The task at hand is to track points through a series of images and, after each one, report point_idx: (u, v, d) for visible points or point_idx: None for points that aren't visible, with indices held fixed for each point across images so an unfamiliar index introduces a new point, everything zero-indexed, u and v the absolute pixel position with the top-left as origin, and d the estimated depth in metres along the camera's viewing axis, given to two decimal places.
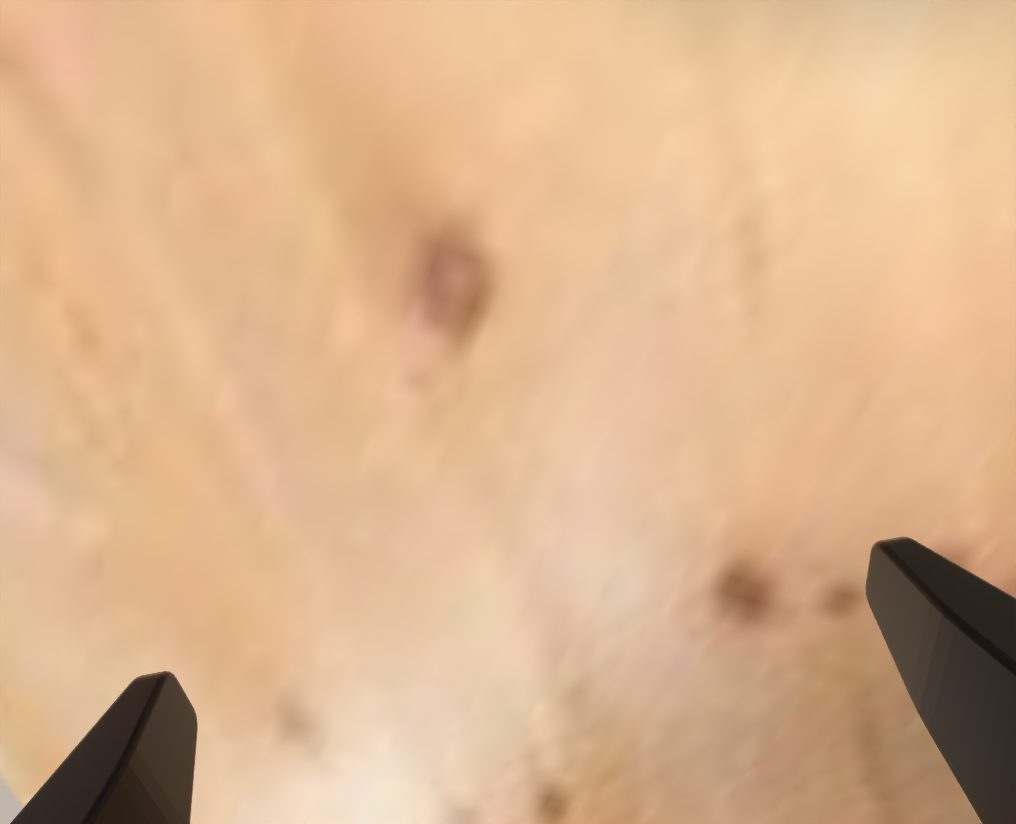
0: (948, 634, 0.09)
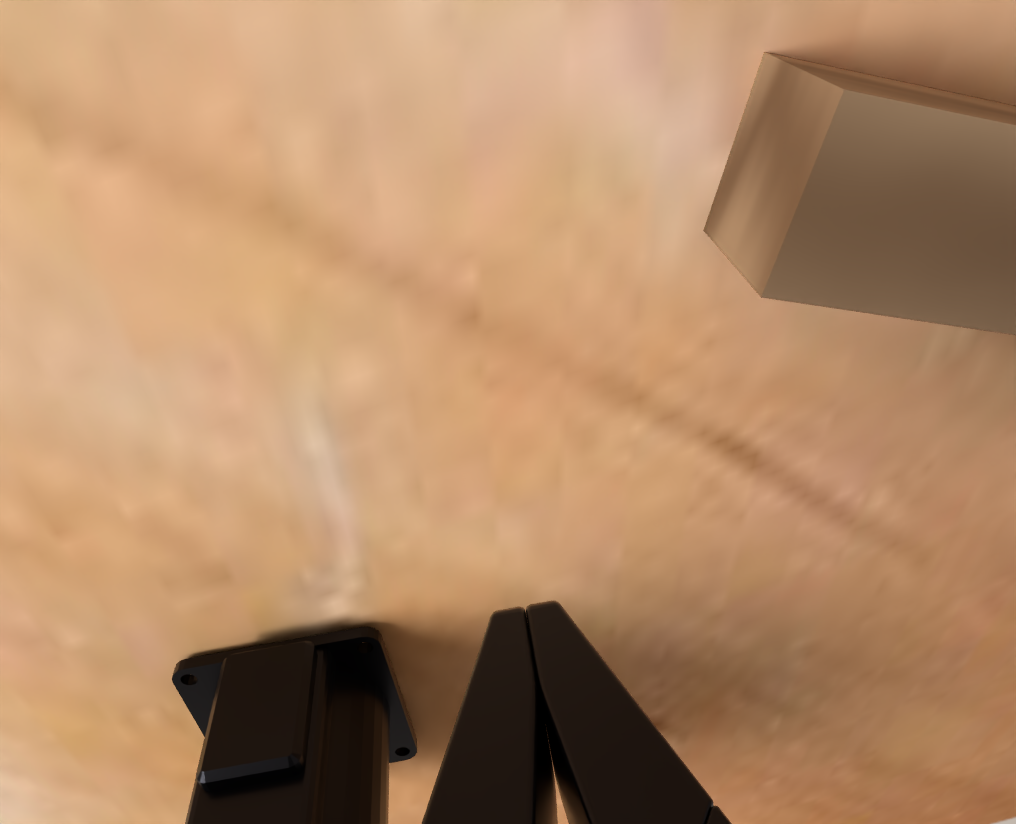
0: (544, 709, 0.09)
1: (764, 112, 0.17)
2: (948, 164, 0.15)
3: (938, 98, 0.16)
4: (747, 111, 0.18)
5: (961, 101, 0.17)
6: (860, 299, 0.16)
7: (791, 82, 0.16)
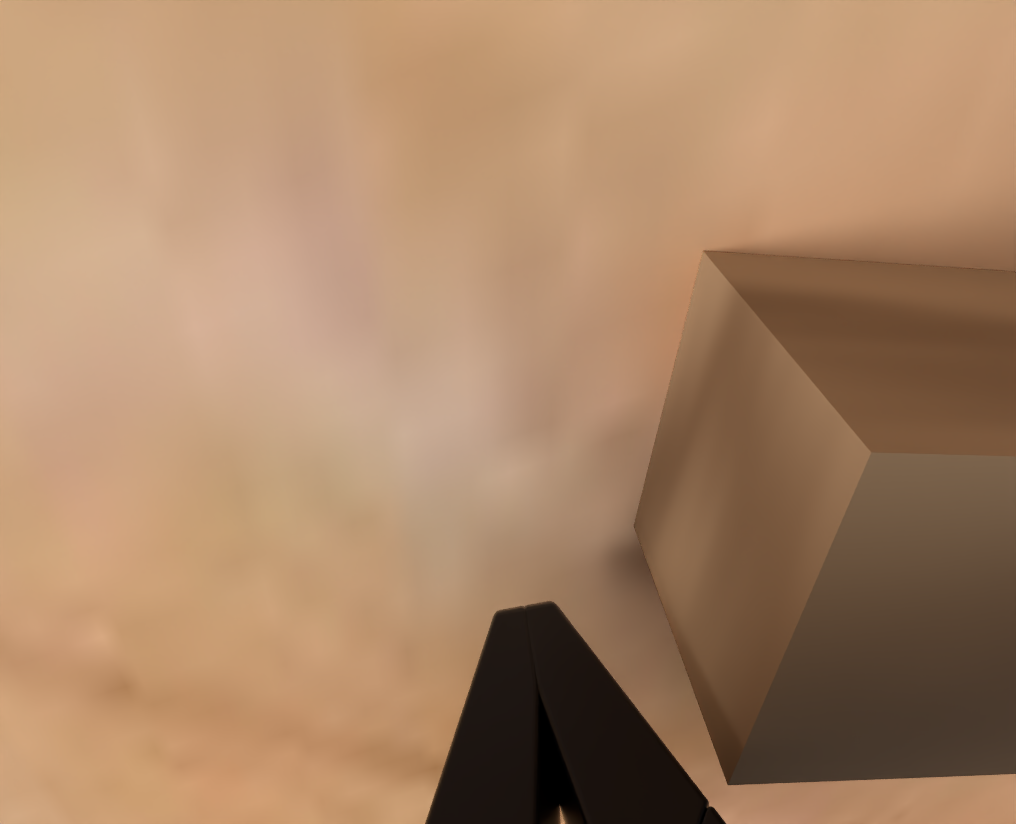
0: (540, 709, 0.09)
1: (711, 380, 0.09)
2: None
3: None
4: (686, 356, 0.09)
5: None
6: (934, 761, 0.08)
7: (756, 351, 0.08)
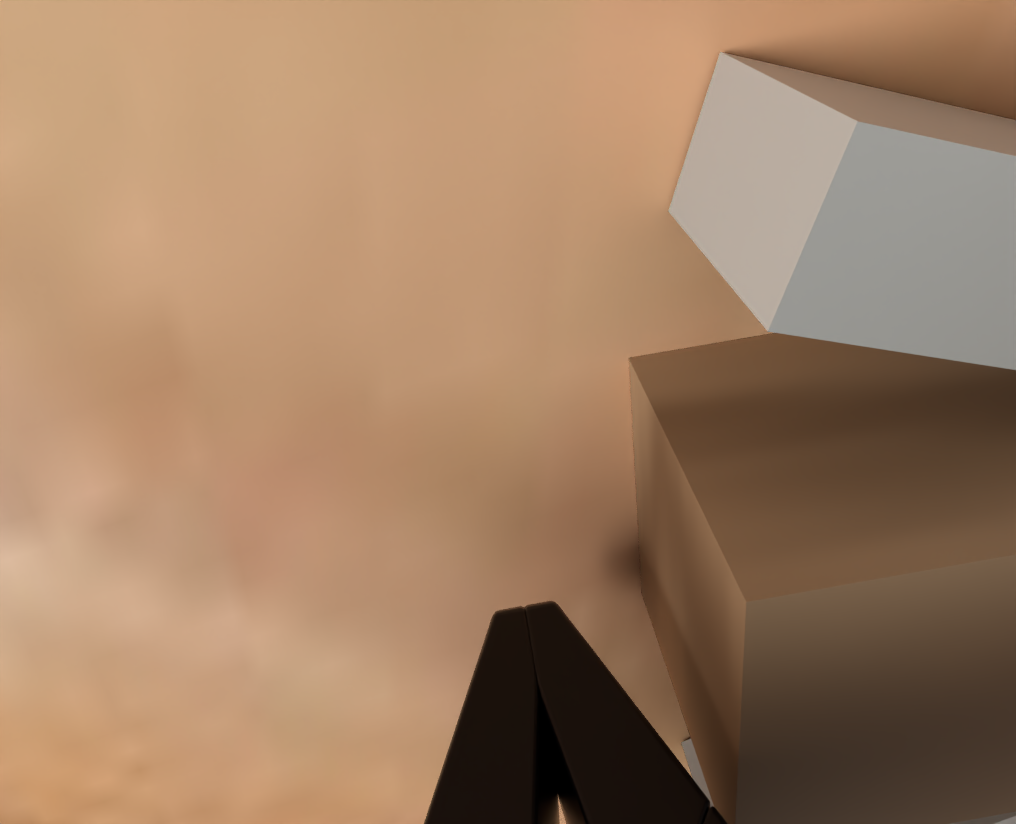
0: (541, 709, 0.09)
1: (657, 485, 0.09)
2: None
3: (985, 407, 0.08)
4: (640, 454, 0.10)
5: None
6: (931, 814, 0.08)
7: (674, 473, 0.08)
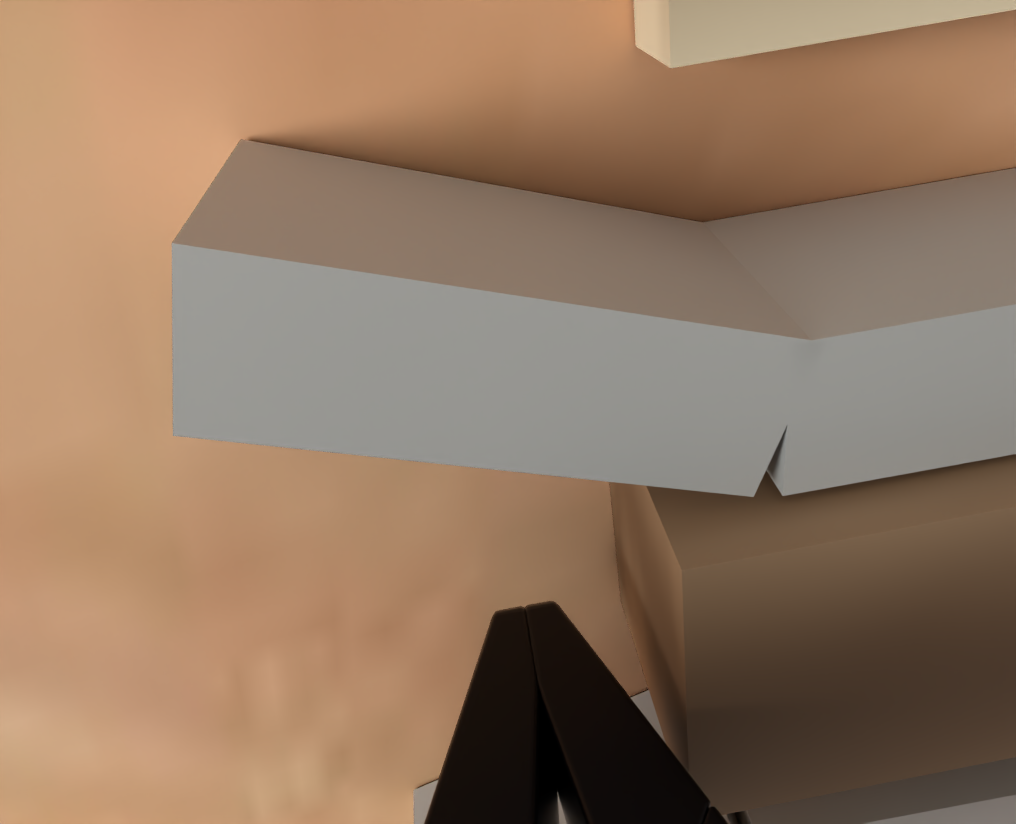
0: (542, 709, 0.09)
1: None
2: (957, 585, 0.07)
3: None
4: None
5: None
6: (873, 772, 0.09)
7: None
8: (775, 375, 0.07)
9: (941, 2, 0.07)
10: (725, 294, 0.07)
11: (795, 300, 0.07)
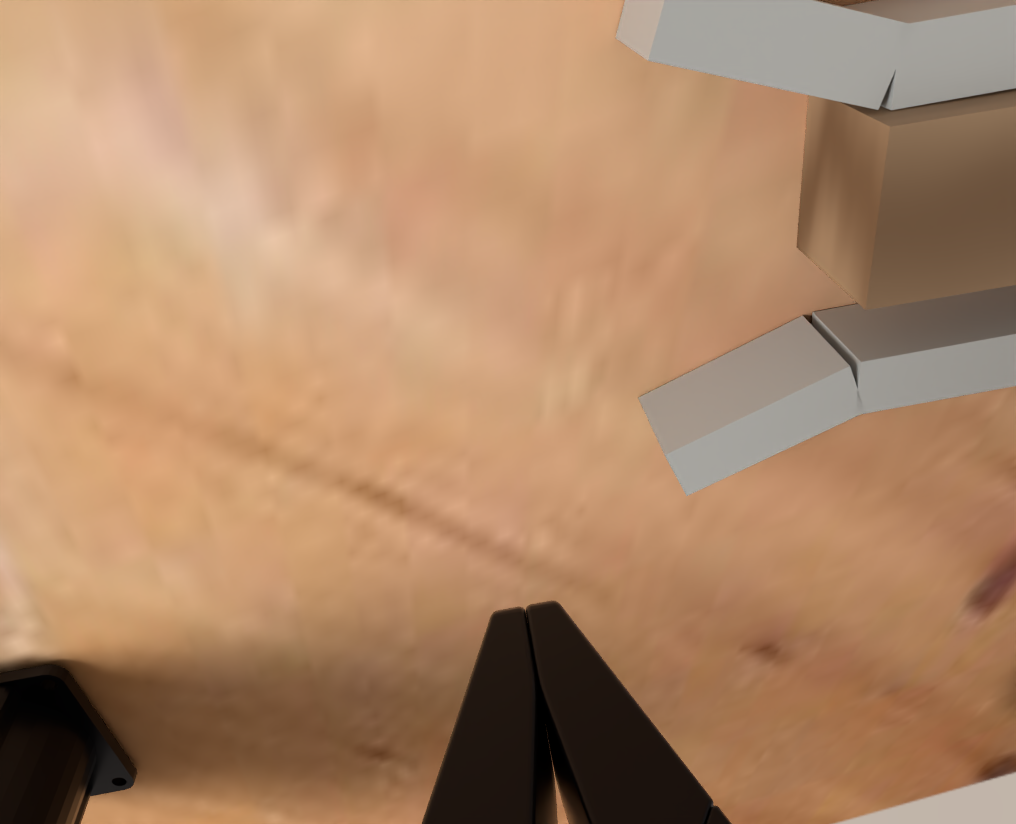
0: (544, 709, 0.09)
1: (823, 142, 0.18)
2: (1009, 150, 0.16)
3: None
4: (808, 140, 0.19)
5: None
6: (960, 283, 0.18)
7: (841, 116, 0.17)
8: (892, 41, 0.16)
9: None
10: (868, 13, 0.16)
11: (898, 17, 0.16)
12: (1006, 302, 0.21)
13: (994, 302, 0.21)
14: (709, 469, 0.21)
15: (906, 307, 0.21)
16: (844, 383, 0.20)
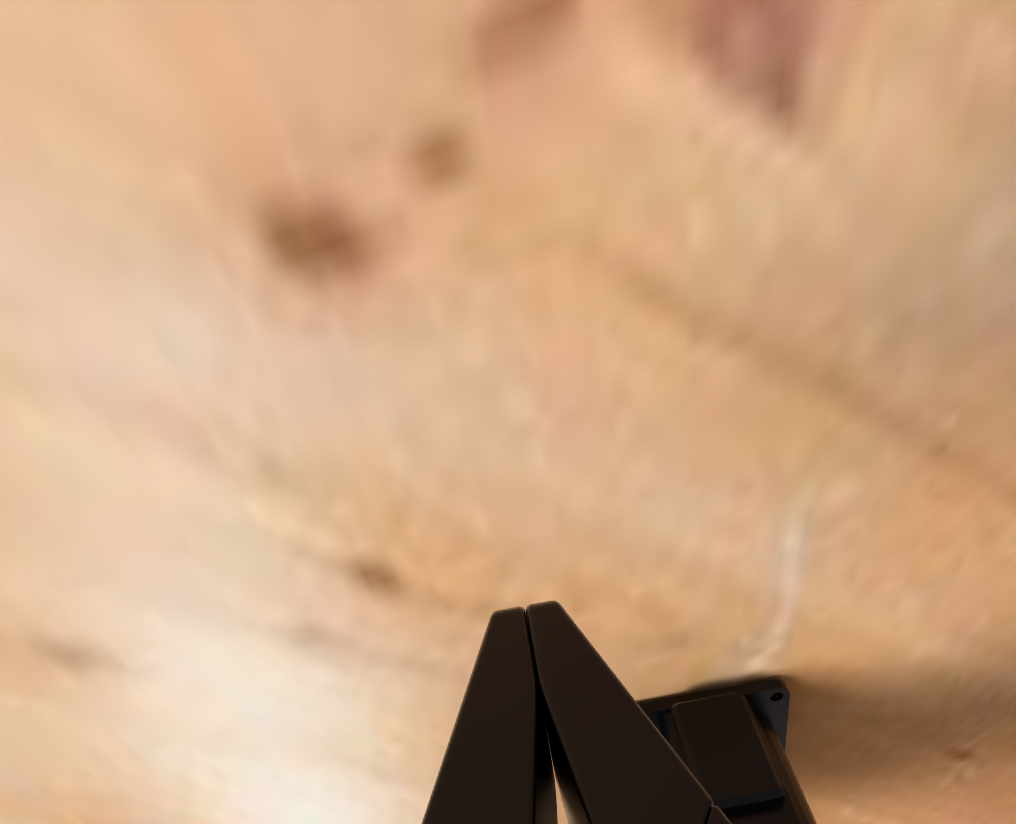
0: (544, 709, 0.09)
1: None
2: None
3: None
4: None
5: None
6: None
7: None
8: None
9: None
10: None
11: None
12: None
13: None
14: None
15: None
16: None
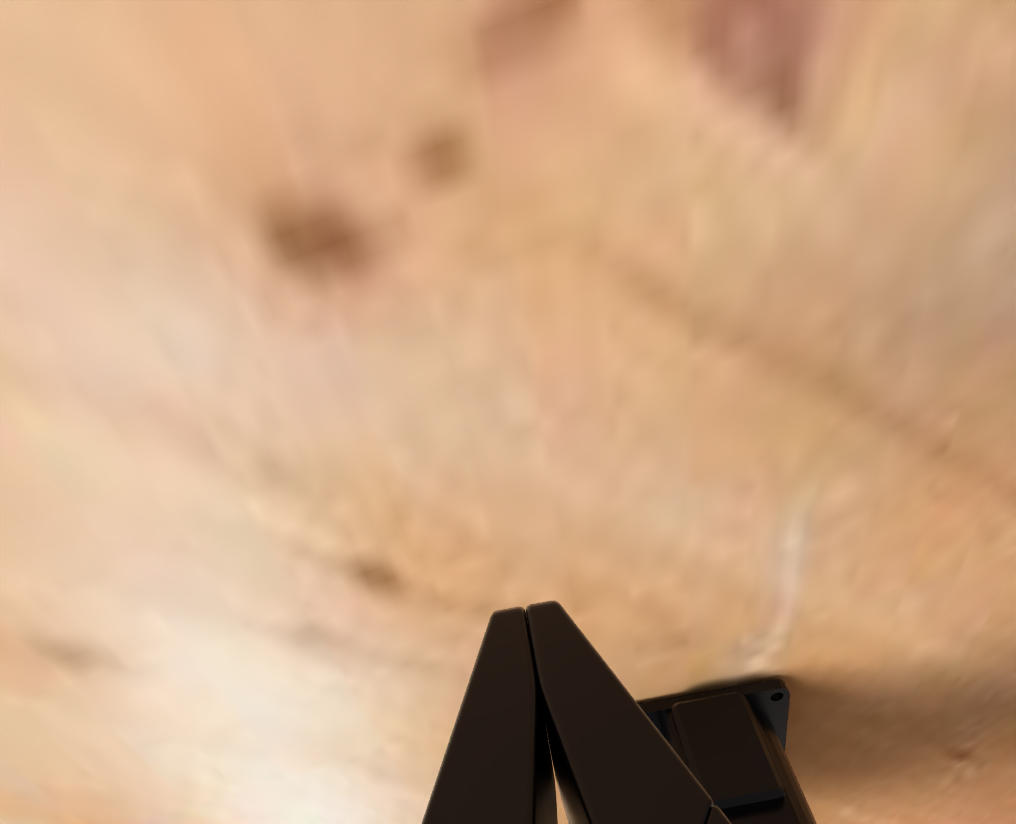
0: (544, 709, 0.09)
1: None
2: None
3: None
4: None
5: None
6: None
7: None
8: None
9: None
10: None
11: None
12: None
13: None
14: None
15: None
16: None
